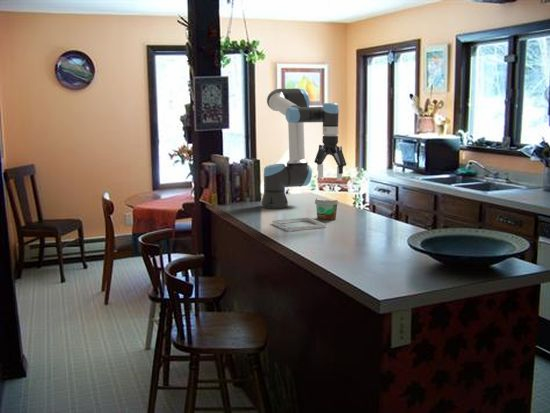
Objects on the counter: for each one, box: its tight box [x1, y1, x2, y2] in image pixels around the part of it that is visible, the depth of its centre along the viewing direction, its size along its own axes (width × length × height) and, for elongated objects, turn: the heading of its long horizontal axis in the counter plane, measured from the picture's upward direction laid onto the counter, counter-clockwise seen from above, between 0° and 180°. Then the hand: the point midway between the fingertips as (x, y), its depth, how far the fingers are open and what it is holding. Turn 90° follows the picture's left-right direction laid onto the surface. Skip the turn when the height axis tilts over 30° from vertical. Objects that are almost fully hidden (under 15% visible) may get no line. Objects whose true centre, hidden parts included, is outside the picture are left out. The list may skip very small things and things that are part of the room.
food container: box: [314, 198, 339, 222], centre depth 298 cm, size 12×6×10 cm, turn 62°
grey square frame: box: [271, 216, 327, 232], centre depth 285 cm, size 18×20×2 cm
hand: (329, 179), depth 295 cm, fingers open, 13 cm apart
